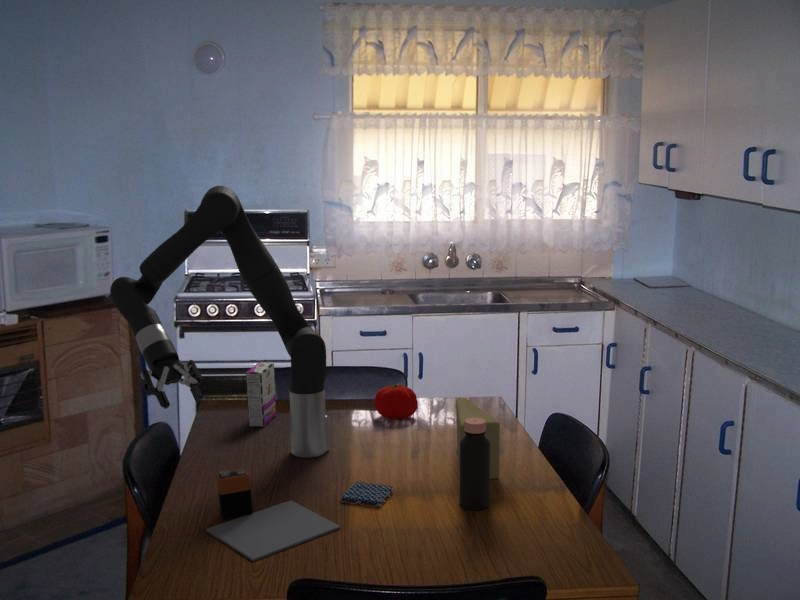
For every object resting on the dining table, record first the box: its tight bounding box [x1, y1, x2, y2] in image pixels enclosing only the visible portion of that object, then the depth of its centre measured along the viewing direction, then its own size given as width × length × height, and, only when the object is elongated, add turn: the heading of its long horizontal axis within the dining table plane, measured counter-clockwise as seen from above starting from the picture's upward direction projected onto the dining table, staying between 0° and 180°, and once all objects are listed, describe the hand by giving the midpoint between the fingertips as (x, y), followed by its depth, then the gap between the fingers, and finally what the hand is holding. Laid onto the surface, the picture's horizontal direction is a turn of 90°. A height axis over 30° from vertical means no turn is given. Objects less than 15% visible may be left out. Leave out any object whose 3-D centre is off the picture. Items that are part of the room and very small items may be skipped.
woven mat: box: [339, 480, 395, 508], centre depth 211 cm, size 10×11×2 cm
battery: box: [216, 468, 254, 520], centre depth 201 cm, size 4×7×10 cm, turn 109°
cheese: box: [455, 397, 501, 480], centre depth 229 cm, size 22×10×15 cm, turn 10°
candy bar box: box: [245, 361, 278, 428], centre depth 263 cm, size 11×5×16 cm, turn 168°
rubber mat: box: [205, 499, 341, 562], centre depth 194 cm, size 22×18×1 cm
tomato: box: [373, 383, 419, 420], centre depth 266 cm, size 11×13×10 cm
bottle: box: [459, 417, 491, 511], centre depth 204 cm, size 7×7×20 cm
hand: (183, 403), depth 213 cm, fingers open, 8 cm apart
